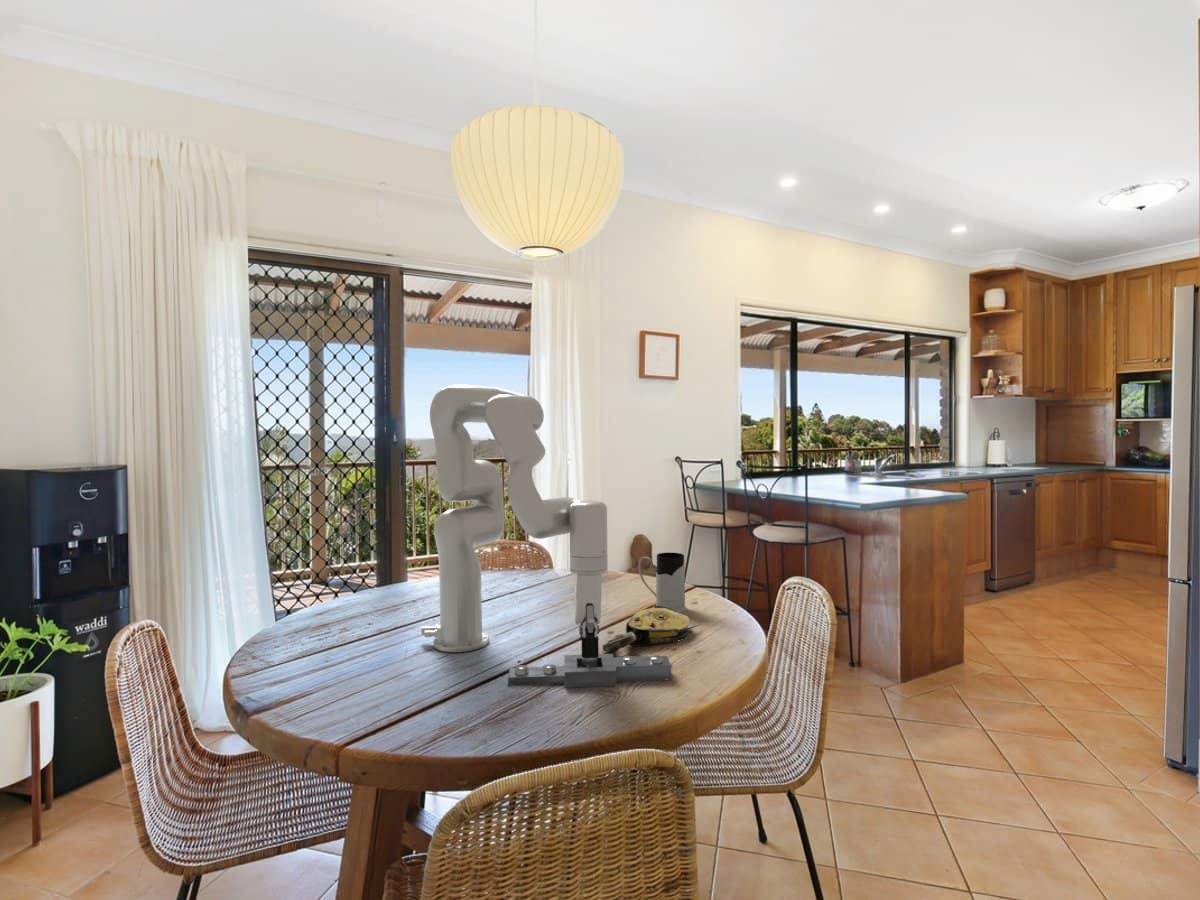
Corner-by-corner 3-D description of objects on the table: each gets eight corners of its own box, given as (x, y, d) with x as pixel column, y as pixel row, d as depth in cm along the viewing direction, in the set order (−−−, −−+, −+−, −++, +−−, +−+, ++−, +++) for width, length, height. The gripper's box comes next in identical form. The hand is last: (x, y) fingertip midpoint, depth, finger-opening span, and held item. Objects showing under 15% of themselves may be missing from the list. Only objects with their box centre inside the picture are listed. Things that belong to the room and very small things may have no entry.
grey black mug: (678, 615, 163) (678, 559, 163) (631, 607, 171) (631, 554, 170) (691, 607, 171) (691, 553, 170) (646, 600, 178) (645, 549, 178)
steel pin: (579, 681, 120) (579, 630, 120) (579, 673, 124) (578, 623, 124) (600, 681, 121) (599, 629, 120) (599, 673, 125) (598, 623, 124)
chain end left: (506, 689, 117) (506, 677, 117) (511, 671, 126) (510, 659, 126) (616, 686, 118) (616, 673, 118) (612, 668, 127) (612, 656, 127)
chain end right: (564, 687, 118) (564, 669, 118) (564, 669, 127) (564, 652, 127) (672, 684, 119) (672, 665, 119) (665, 666, 128) (665, 649, 128)
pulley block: (583, 622, 137) (660, 595, 160) (580, 647, 138) (657, 616, 161) (632, 645, 128) (707, 613, 151) (629, 672, 129) (704, 636, 152)
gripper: (569, 554, 130) (569, 634, 131) (570, 573, 113) (570, 665, 113) (604, 554, 131) (605, 633, 131) (610, 573, 113) (611, 664, 114)
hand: (589, 648), depth 122 cm, fingers open, 9 cm apart
